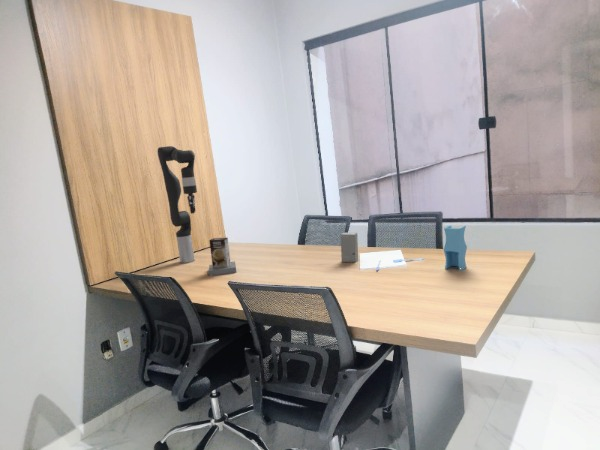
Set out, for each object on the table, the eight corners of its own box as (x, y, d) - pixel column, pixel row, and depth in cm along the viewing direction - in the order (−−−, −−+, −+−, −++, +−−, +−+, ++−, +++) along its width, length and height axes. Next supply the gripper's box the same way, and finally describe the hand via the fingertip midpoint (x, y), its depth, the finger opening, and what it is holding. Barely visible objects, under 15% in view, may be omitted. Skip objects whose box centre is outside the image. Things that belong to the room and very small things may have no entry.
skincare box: (341, 262, 231) (339, 234, 229) (345, 259, 238) (342, 232, 235) (356, 262, 228) (354, 234, 225) (359, 259, 234) (357, 231, 232)
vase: (467, 266, 200) (465, 225, 197) (460, 270, 194) (459, 228, 191) (451, 265, 205) (449, 225, 202) (444, 269, 200) (442, 228, 196)
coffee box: (212, 268, 235) (208, 240, 233) (216, 265, 241) (212, 238, 239) (227, 267, 234) (224, 239, 231) (231, 264, 240) (227, 236, 238)
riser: (210, 269, 244) (209, 264, 244) (235, 266, 247) (234, 261, 246) (209, 276, 230) (208, 271, 229) (236, 272, 232) (235, 267, 232)
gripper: (195, 185, 236) (199, 213, 238) (196, 184, 250) (200, 210, 252) (181, 186, 234) (185, 214, 237) (183, 185, 248) (187, 212, 251)
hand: (193, 212), depth 244 cm, fingers open, 8 cm apart
